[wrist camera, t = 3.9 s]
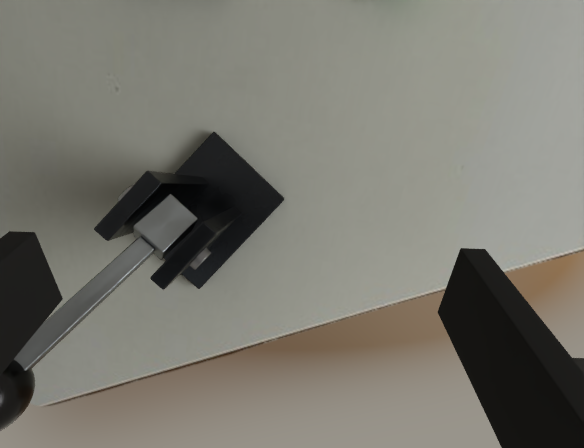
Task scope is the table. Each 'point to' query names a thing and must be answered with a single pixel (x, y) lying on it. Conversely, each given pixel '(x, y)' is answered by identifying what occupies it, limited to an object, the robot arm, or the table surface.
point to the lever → (92, 300)
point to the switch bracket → (199, 209)
